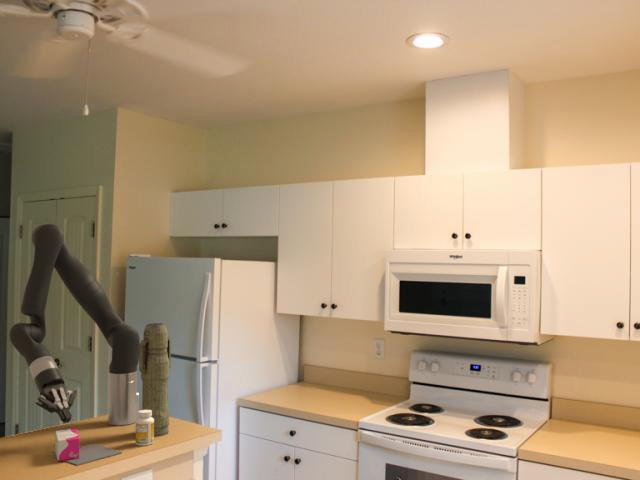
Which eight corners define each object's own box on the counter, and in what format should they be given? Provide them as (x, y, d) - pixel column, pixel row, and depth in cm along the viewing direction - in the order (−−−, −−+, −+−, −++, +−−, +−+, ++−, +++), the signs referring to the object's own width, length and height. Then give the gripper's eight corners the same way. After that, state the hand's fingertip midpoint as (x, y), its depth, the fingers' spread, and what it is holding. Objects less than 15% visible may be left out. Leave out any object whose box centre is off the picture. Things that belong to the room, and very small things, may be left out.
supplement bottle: (148, 439, 192) (148, 408, 193) (157, 443, 188) (157, 411, 189) (132, 443, 188) (132, 411, 189) (140, 447, 185) (141, 414, 185)
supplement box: (54, 450, 180) (56, 461, 170) (55, 430, 181) (57, 439, 170) (76, 448, 183) (79, 458, 173) (76, 428, 183) (80, 436, 173)
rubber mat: (94, 444, 187) (94, 443, 187) (122, 453, 179) (122, 452, 179) (49, 455, 176) (49, 454, 176) (77, 465, 168) (77, 464, 168)
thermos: (130, 436, 196) (132, 324, 198) (156, 427, 207) (157, 321, 208) (152, 439, 192) (153, 325, 194) (177, 430, 203) (178, 322, 204)
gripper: (29, 370, 185) (51, 417, 177) (71, 364, 195) (93, 408, 188) (20, 385, 188) (41, 433, 180) (61, 379, 198) (83, 424, 191)
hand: (67, 420), depth 184 cm, fingers closed
